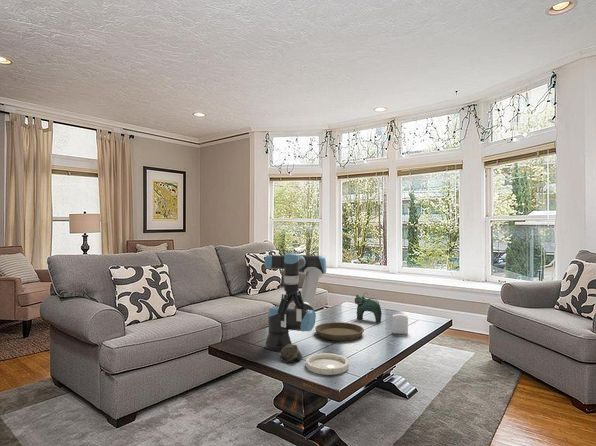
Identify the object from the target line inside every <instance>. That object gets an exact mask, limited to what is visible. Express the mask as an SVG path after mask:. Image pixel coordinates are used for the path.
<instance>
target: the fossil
mask: <svg viewBox="0 0 596 446" xmlns="http://www.w3.org/2000/svg"><path fill="white" fill-rule="evenodd" d="M279 358H280V360H281V361H282V362H283V363H286V364H289V363H293V362H294V361H296V360H297V361H301V360H302V359H303V356H302V353H301V352H300V350H299V347H298V345H297V344H288V345H286V346H285V347H283V348H282V350H281V351H280V356H279Z"/></svg>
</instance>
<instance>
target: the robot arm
mask: <svg viewBox="0 0 596 446" xmlns="http://www.w3.org/2000/svg"><path fill="white" fill-rule="evenodd" d="M264 266H265V268H266V269H270V270H284V272H283V273H284V275H283V278H284V279H283V282H284V288H283V289H284V291H285V294H283V293H282V294H281V299H280V303H279V305H276V306H273V307H270V308H269V309H268V316H267V318H268V320H267V321H268V323H267V325H268V328H267V329H268V333H267V336H266V340H265V344H264V345H265V349H266V350H269V351H273V352H281V350H282V348H283V347H285V346H286V345H288V344H292V343H293V342H292V341H291V337H290V333H289V332H290V331H297V332H310V331H312V330H313V329H314V328H315V327H314V326H315V323H316V319H317V314H316V312H315V309H314V301H315V297H316V292H317V288H318V283H319V280H320V279H321V278H322V277H323V275H325V274H326V273H327V261H326V257H325V256H324V255H320V254H318V255H316V254H315V255H311V254H298V253H293V252H291V253H285V254H284V255H280V254H279V255H275V254H274V255H273V254H269V255H266V256H265V258H264ZM299 273H302V274H304V275H305V276H304V280H303V284H302V288H301V290H299V289H300V287H299V285H300V283H299V282H300V281H299V276H300V274H299ZM292 302H294V304H295V305H294V307H293V308H290V304H291V303H292ZM292 345H293V344H292Z"/></svg>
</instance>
